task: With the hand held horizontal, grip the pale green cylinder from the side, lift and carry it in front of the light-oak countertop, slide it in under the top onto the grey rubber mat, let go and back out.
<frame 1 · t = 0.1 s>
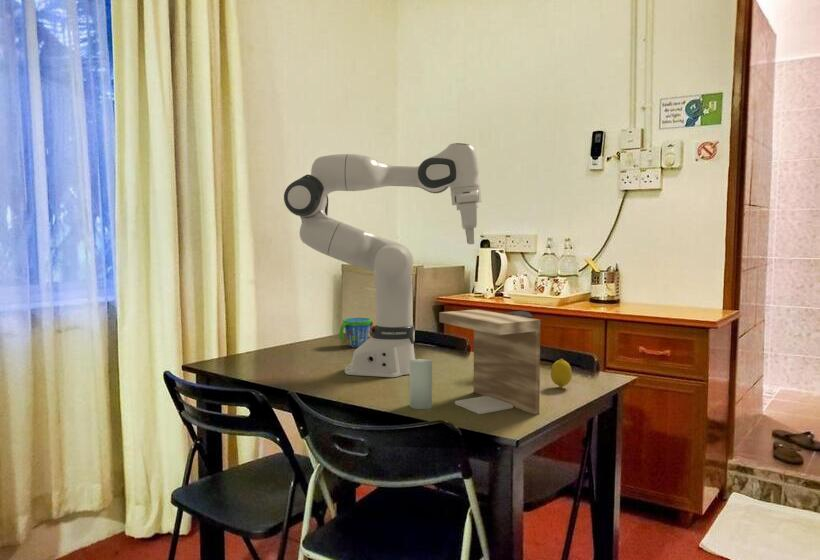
hand: (470, 243, 183), 39 cm above the table, tool pointing down, fingers open, 8 cm apart
lemon: (561, 388, 166), on the table
pale green cylinder: (420, 406, 149), on the table
snack cup: (357, 346, 231), on the table
counter: (486, 405, 149), on the table
coffee jar: (516, 372, 185), on the table
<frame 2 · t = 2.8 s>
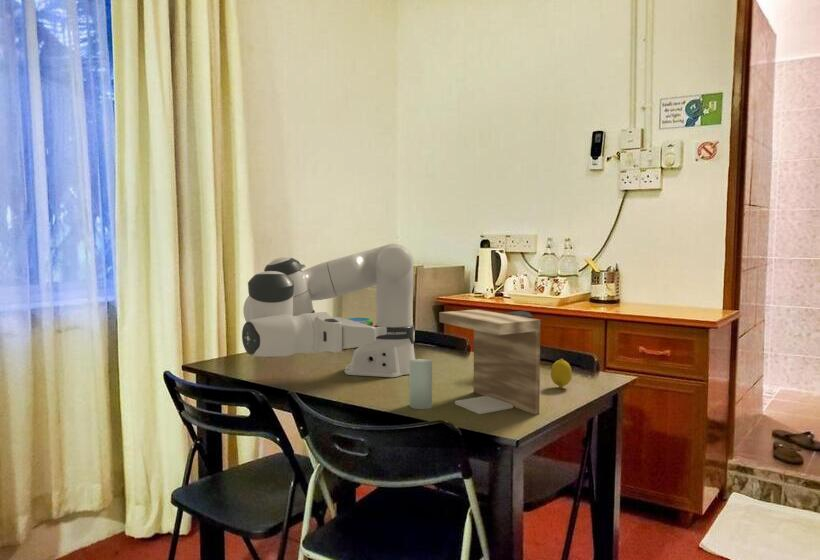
hand: (375, 327, 141), 20 cm above the table, tool horizontal, fingers open, 8 cm apart
nothing on the table moved.
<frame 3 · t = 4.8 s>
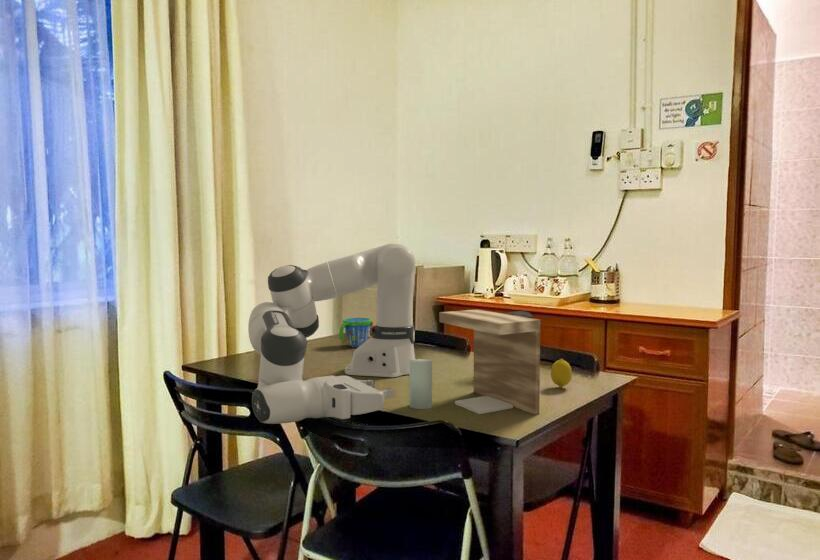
hand: (382, 388, 143), 6 cm above the table, tool horizontal, fingers open, 8 cm apart
nothing on the table moved.
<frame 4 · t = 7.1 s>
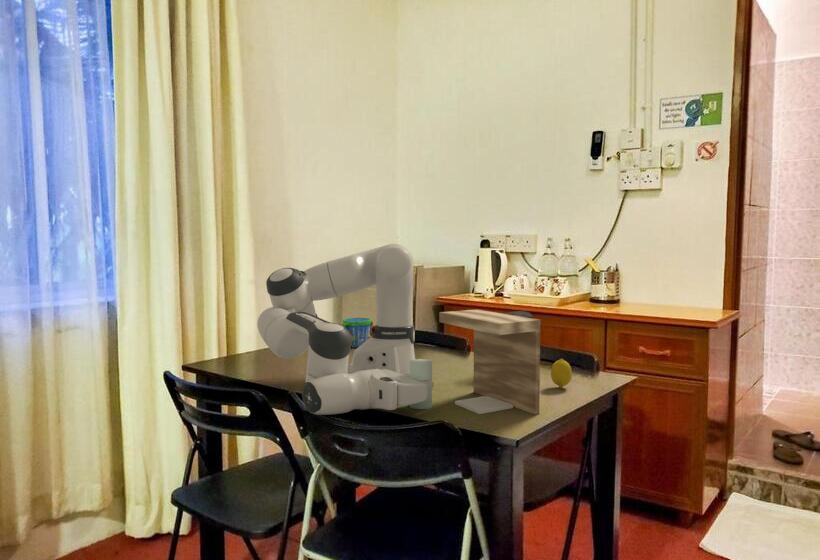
hand: (423, 381, 149), 6 cm above the table, tool horizontal, fingers closed on pale green cylinder, 5 cm apart
pale green cylinder: (420, 406, 149), on the table, touching gripper
everything else where it was.
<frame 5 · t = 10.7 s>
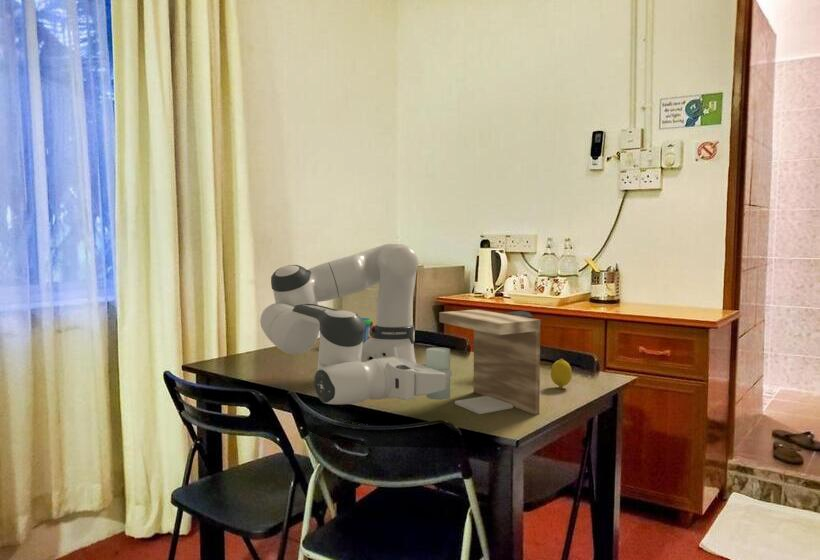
hand: (441, 370, 141), 10 cm above the table, tool horizontal, fingers closed on pale green cylinder, 5 cm apart
pale green cylinder: (438, 396, 141), point 4 cm above the table, touching gripper
everything else where it was.
when the fingers open (8 cm above the table, at t = 14.3 s): pale green cylinder drops 1 cm, resting on counter.
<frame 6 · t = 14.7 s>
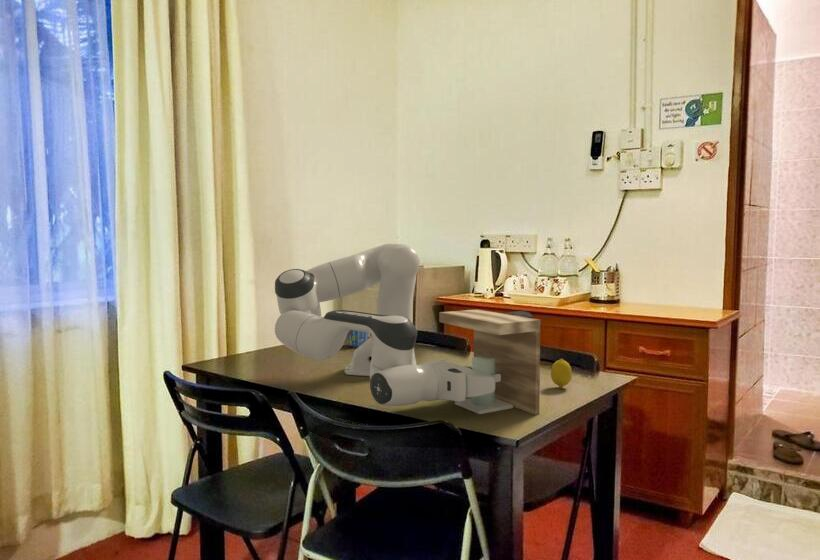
hand: (486, 373, 148), 8 cm above the table, tool horizontal, fingers open, 8 cm apart
pale green cylinder: (483, 402, 148), point 1 cm above the table, touching counter
everything else where it was.
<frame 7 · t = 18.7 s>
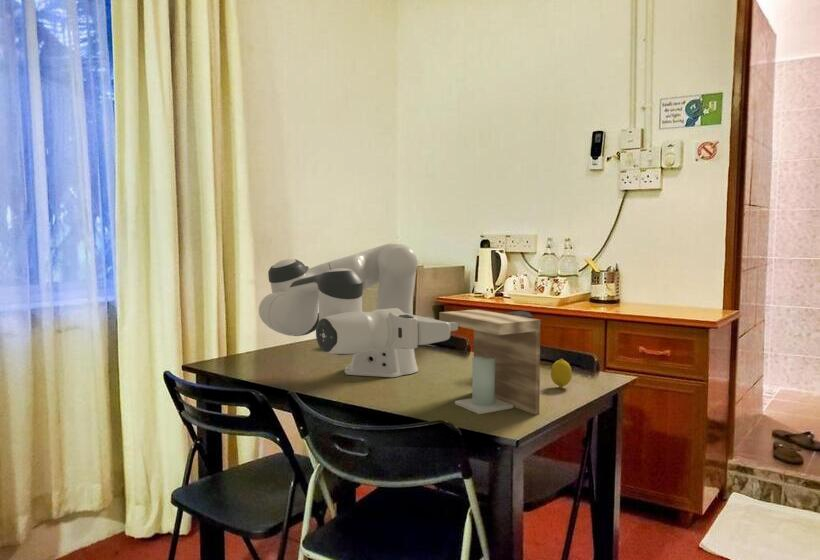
hand: (444, 323, 140), 21 cm above the table, tool horizontal, fingers open, 8 cm apart
nothing on the table moved.
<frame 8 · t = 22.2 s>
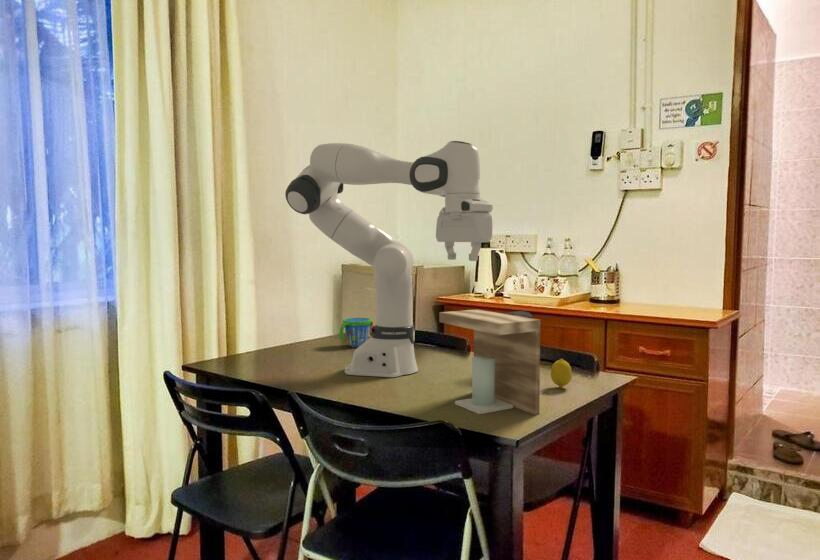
hand: (462, 260, 156), 35 cm above the table, tool pointing down, fingers open, 8 cm apart
nothing on the table moved.
at the end: pale green cylinder inside the target area on the counter (0.2 cm from its centre), point 0.8 cm above the counter's base; pale green cylinder tilted 1°; the gripper is holding nothing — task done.
